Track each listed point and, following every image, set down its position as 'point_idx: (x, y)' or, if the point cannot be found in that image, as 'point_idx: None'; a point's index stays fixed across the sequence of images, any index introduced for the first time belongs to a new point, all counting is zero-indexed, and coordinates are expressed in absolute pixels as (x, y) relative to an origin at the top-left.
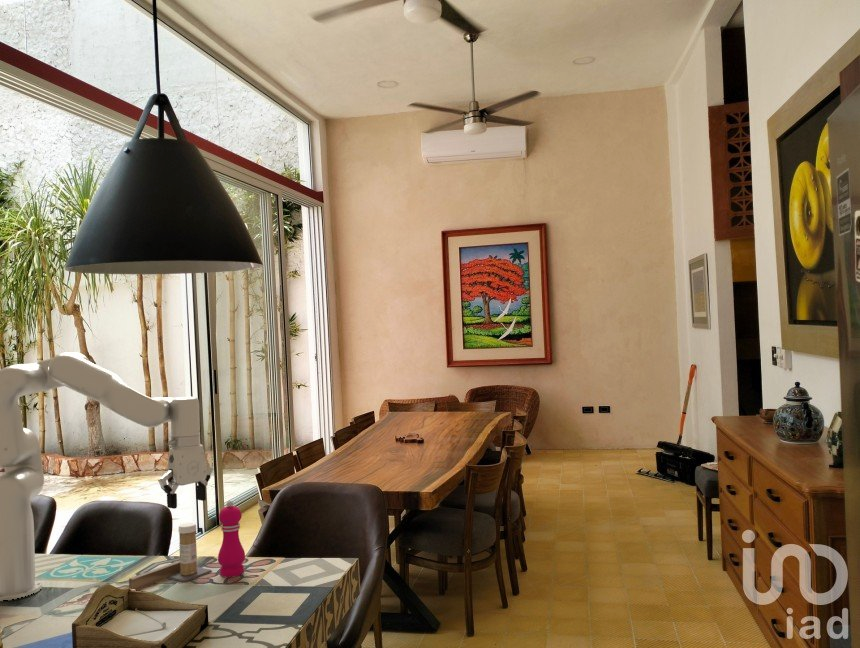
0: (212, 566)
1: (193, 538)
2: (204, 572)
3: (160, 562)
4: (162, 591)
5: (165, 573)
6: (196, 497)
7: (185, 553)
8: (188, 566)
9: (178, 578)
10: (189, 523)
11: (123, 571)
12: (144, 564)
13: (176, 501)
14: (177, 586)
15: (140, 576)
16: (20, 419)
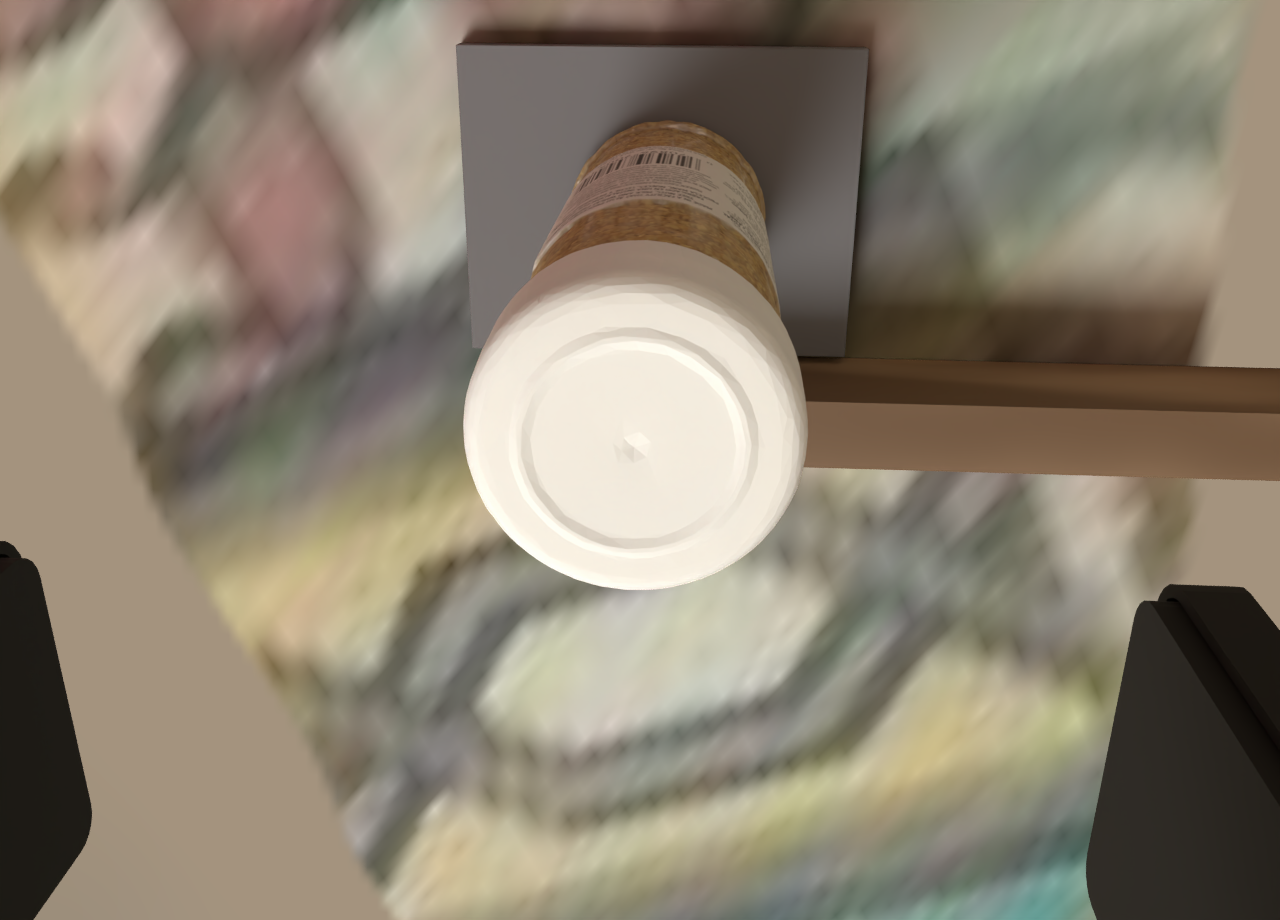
0: (329, 196)
1: (631, 221)
2: (562, 52)
3: (530, 788)
4: (1199, 44)
5: (873, 377)
6: (63, 871)
7: (757, 230)
8: (729, 166)
9: (849, 182)
10: (552, 469)
11: (861, 884)
12: (640, 869)
13: (1272, 701)
14: (1006, 14)
15: (1228, 419)
16: None
